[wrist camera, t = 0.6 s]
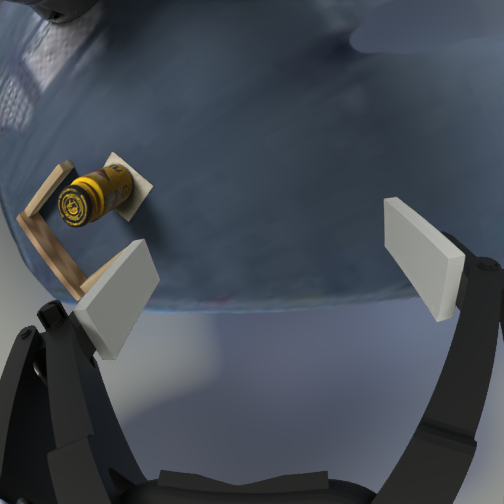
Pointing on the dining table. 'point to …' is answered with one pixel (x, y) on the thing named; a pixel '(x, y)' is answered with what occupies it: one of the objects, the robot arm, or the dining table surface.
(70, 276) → the bay
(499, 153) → the dining table surface
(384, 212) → the robot arm
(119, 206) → the condiment
